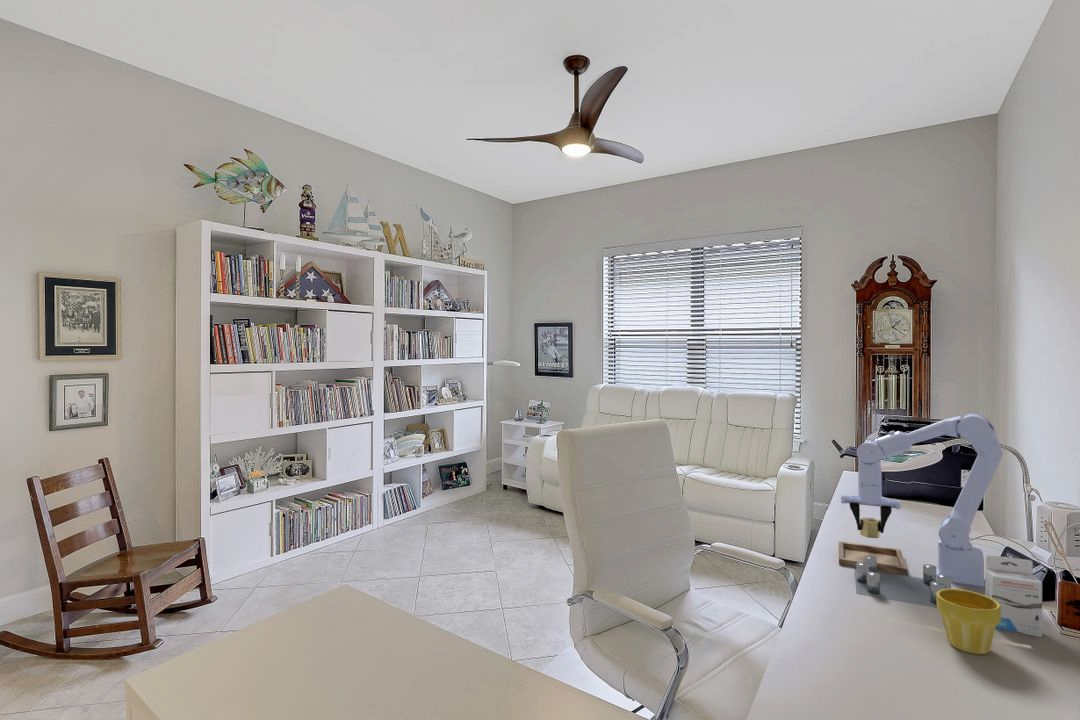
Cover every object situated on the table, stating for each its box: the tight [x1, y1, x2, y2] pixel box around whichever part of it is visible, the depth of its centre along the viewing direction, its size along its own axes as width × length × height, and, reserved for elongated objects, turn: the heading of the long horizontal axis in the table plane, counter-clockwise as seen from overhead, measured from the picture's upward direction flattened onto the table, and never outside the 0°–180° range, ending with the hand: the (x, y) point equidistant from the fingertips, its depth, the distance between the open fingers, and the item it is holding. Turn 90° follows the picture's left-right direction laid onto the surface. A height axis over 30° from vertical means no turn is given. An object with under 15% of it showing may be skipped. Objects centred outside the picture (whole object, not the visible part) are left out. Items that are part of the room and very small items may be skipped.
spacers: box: [855, 556, 952, 605], centre depth 137 cm, size 20×15×4 cm
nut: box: [859, 516, 881, 539], centre depth 155 cm, size 4×5×5 cm
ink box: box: [984, 554, 1043, 638], centre depth 117 cm, size 9×5×15 cm, turn 65°
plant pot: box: [936, 588, 1001, 655], centre depth 111 cm, size 10×10×10 cm
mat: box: [853, 567, 937, 609], centre depth 137 cm, size 21×18×1 cm
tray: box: [838, 540, 908, 576], centre depth 156 cm, size 16×16×2 cm
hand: (870, 530), depth 155 cm, fingers closed on nut, 5 cm apart
